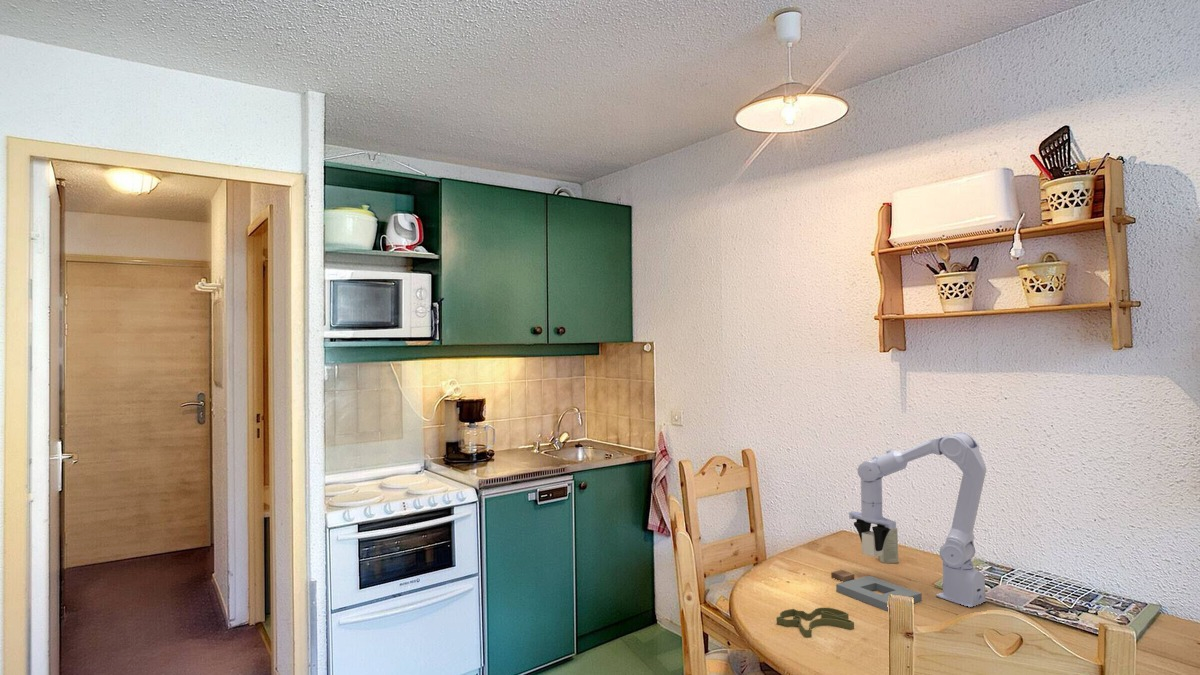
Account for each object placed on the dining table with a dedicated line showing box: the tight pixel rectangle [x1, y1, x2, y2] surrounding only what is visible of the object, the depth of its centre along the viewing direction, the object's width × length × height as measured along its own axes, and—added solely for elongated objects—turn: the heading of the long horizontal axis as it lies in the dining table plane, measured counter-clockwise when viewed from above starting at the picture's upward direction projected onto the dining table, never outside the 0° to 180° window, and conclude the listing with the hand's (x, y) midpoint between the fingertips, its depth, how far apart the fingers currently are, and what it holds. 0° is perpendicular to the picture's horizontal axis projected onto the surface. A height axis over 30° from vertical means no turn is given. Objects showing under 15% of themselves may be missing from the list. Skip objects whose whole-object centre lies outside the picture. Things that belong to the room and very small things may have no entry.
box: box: [877, 527, 899, 564], centre depth 204 cm, size 5×4×11 cm
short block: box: [830, 569, 855, 583], centre depth 187 cm, size 4×4×2 cm
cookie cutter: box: [776, 607, 855, 638], centre depth 156 cm, size 18×12×2 cm, turn 110°
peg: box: [861, 530, 883, 558], centre depth 188 cm, size 4×4×6 cm
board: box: [835, 575, 922, 612], centre depth 174 cm, size 16×14×2 cm
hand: (872, 548), depth 188 cm, fingers closed on peg, 4 cm apart
